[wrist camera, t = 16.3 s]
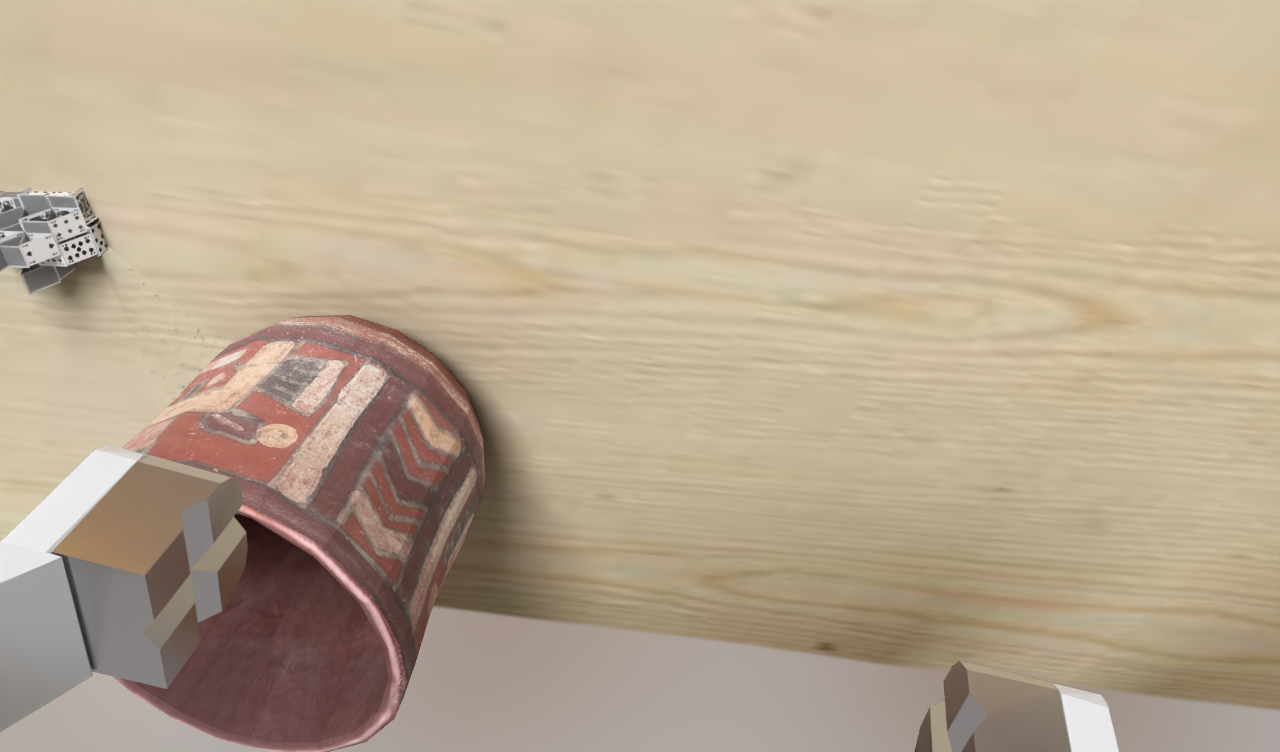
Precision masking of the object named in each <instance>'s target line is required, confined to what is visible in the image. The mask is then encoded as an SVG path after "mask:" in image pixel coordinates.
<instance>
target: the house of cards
mask: <svg viewBox="0 0 1280 752" xmlns="http://www.w3.org/2000/svg"><path fill="white" fill-rule="evenodd" d="M97 218H98V217H94V216H93V214H92V211H91V209H90V206H89V203H88V201H87V198H86V196H85V193H84V191H83V188H81V189H79V190H78V191H76V192H32V189H31V188H29V189H27V190H25V191H23V192H6V191H0V272H1V271H3V270H4V269H6V268H7V267H20V268H23V269H22V272H21V276H22V278H23V281H24V283H25V285H26V287H27V290H28V292H29V294H33V293H36V292H38V291H41V290H43V289H46V288H48V287H51V286H53V285H56V284H58V283H61V280H62V279H63V278H64V277H66V276H67V275H69V274H70V273H71V272H73V271H74V270H75V269H76V268H75V266H74V263H76V262H79V261H82V260H84V259H87V258H89V257H92V256H95V255H96V256H98V257H99V256H101V255H102V254H103V253H105V252H106V251H107V250H108V247H107V245H106V242H105V240H104V237H103V235H102V232H101V230H100V227H99V224H98V223H100V222H95V221H94V220H95V219H97Z"/></svg>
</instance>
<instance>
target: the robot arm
mask: <svg viewBox="0 0 1280 752" xmlns="http://www.w3.org/2000/svg"><path fill="white" fill-rule="evenodd" d="M242 505H243V498H242V491H241V485H240V482H239V481H237V480H235V479H233V478H230V477H227V476H223V475H220V474H216V473H212V472H209V471H205V470H202V469H198V468H195V467H191V466H187V465H184V464H180V463H177V462H173V461H170V460H166V459H162V458H159V457H155V456H152V455H146V454H142V453H139V452H135V451H131V450H128V449H124V448H120V447H117V446H113V445H107V446H104V447H102V448H99V449H97V450H95V451H93V452H92V453H91V454H90V455H89V456H88V457H87V458H86V459H85V460H84V461H83V462H82V463H81V464H80V465H79V466H78V467H77V468H76V469H75V470H74V471H73V472H72V473H71V474H69V475H68V476H67V477H66V478H65V479H64V480H63V481H62V482H61V483H60V484H59V485H58V486H57V487H56V488H55V489H54V490H53V491H52V492H51V493H50V494H49V495H48V496H47V497H46V498H45V499H44V500H43V501H42V502H41V503H40V504H39V505H38V506H37V507H36V508H35V509H34V510H33V511H32V512H31V513H30V514H29V515H27V516H26V517H25V518H24V519H23V520H22V521H21V522H20V523H19V524H18V525H17V526H16V527H15V528H14V529H13V530H12V531H11V532H10V533H9V534H8V535H7V536H6V537H5V538H4V539H3V540H2V541H1V540H0V732H1V731H3V730H5V729H6V728H8V727H10V726H11V725H13V724H15V723H16V722H18V721H19V720H21V719H23V718H24V717H26V716H28V715H29V714H31V713H33V712H34V711H36V710H37V709H39V708H41V707H42V706H44V705H46V704H47V703H49V702H51V701H52V700H54V699H56V698H57V697H59V696H61V695H62V694H64V693H65V692H67V691H69V690H70V689H72V688H74V687H75V686H77V685H78V684H80V683H82V682H83V681H85V680H87V679H88V678H90V677H92V675H93V674H92V671H93V672H98V673H101V674H106V675H110V676H114V677H118V678H122V679H126V680H131V681H135V682H139V683H143V684H148V685H152V686H156V687H160V688H165V689H168V687H169V686H170V684H171V683H172V681H173V680H174V679H175V677H176V676H177V674H178V673H179V672H180V670H181V669H182V667H183V666H184V665H185V663H186V662H187V660H188V659H189V657H190V656H191V655H192V653H193V652H194V650H195V649H196V648H197V646H198V645H199V643H200V642H201V641H200V634H199V626H198V623H199V622H201V621H203V620H205V619H207V618H209V617H211V616H213V615H215V614H217V613H219V612H221V611H222V610H223V609H224V607H225V606H226V604H227V603H228V601H229V600H230V598H231V597H232V595H233V594H234V592H235V591H236V588H237V586H238V583H239V581H240V578H241V576H242V573H243V571H244V568H245V564H246V557H247V550H248V545H247V533H246V531H245V530H244V529H243V527H242V526H241V525H240V524H239V522H238V521H237V520H236V519H235V517H234V516H235V514H236V513H237V512H238V510H239V509H240V508H241V506H242ZM944 692H945V693H944V694H945V700H944V701H942V702H940V703H938V704H935V705H933V706H931V707H930V708H929V710H928V712H927V714H926V716H925V719H924V721H923V723H922V725H921V727H920V731H919V736H918V739H917V744H916V748H915V752H1119V749H1118V744H1117V740H1116V736H1115V732H1114V728H1113V724H1112V720H1111V716H1110V711H1109V708H1108V704H1107V703H1106V701H1105V700H1104V699H1103V697H1102V696H1101V695H1099V694H1094V693H1090V692H1086V691H1082V690H1078V689H1074V688H1070V687H1066V686H1062V685H1058V684H1050V683H1049V682H1047V681H1043V680H1039V679H1035V678H1031V677H1026V676H1022V675H1018V674H1014V673H1010V672H1006V671H1001V670H997V669H993V668H989V667H985V666H981V665H977V664H972V663H968V662H964V661H958V662H957V663H956V664H955V665H953V666H952V667H951V669H950V671H949V673H948V675H947V677H946V678H945V680H944Z"/></svg>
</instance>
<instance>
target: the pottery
mask: <svg viewBox="0 0 1280 752" xmlns="http://www.w3.org/2000/svg"><path fill="white" fill-rule="evenodd" d="M122 448H124V449H128V450H131V451H135V452H139V453H142V454H146V455H152V456H155V457H159V458H162V459H166V460H170V461H173V462H177V463H180V464H184V465H187V466H191V467H195V468H198V469H202V470H205V471H209V472H212V473H216V474H220V475H223V476H227V477H230V478H233V479H235V480H237V481H239V482H240V485H241V491H242V498H243V505H242V506H241V508H240V509H239V510H238V512H237V513H236V514H235V516H234V517H235V519H236V520H237V521H238V522H239V524H240V525H241V526H242V527H243V529H244V530H245V531H246V533H247V545H248V550H247V557H246V564H245V568H244V571H243V573H242V576H241V578H240V581H239V583H238V586H237V588H236V591H235V592H234V594H233V595H232V597H231V598H230V600H229V601H228V603H227V604H226V606H225V607H224V609H223V610H222V611H221V612H219V613H217V614H215V615H213V616H211V617H209V618H207V619H205V620H203V621H201V622H199V623H198V626H199V634H200V641H201V642H200V643H199V645H198V646H197V648H196V649H195V650H194V652H193V653H192V655H191V656H190V657H189V659H188V660H187V662H186V663H185V665H184V666H183V667H182V669H181V670H180V672H179V673H178V674H177V676H176V677H175V679H174V680H173V681H172V683H171V684H170V686H169V687H168V689H165V688H160V687H156V686H152V685H148V684H143V683H139V682H135V681H131V680H126V679H122V678H118V677H114V676H113V677H114V678H115V679H116V680H118V681H119V682H120V683H121V684H122V685H124V686H125V687H126V688H127V689H128V690H130V691H131V692H132V693H133V694H135V695H136V696H138V697H139V698H141V699H143V700H145V701H146V702H148V703H149V704H151V705H152V706H154V707H156V708H157V709H159V710H161V711H162V712H164V713H166V714H167V715H169V716H170V717H172V718H174V719H175V720H177V721H179V722H181V723H184V724H186V725H188V726H190V727H193V728H195V729H197V730H199V731H202V732H204V733H206V734H208V735H211V736H213V737H215V738H218V739H220V740H222V741H227V742H231V743H235V744H240V745H244V746H249V747H253V748H258V749H262V750H266V751H271V752H329V751H333V750H337V749H341V748H345V747H348V746H353V745H356V744H360V743H364V742H366V741H368V740H369V739H370V738H371V737H373V736H374V735H375V734H376V733H377V732H379V731H380V730H381V729H382V728H384V727H385V726H386V725H387V724H388V723H390V722H391V721H392V720H393V719H394V718H395V716H396V714H397V711H398V709H399V706H400V704H401V701H402V699H403V697H404V694H405V691H406V688H407V686H408V683H409V680H410V677H411V674H412V671H413V668H414V666H415V662H416V659H417V656H418V653H419V649H420V646H421V643H422V639H423V636H424V632H425V629H426V626H427V622H428V619H429V616H430V613H431V610H432V608H433V605H434V602H435V600H436V597H437V595H438V593H439V591H440V589H441V587H442V585H443V583H444V581H445V579H446V577H447V575H448V573H449V571H450V569H451V567H452V565H453V563H454V561H455V559H456V557H457V555H458V553H459V551H460V549H461V547H462V545H463V543H464V541H465V539H466V536H467V534H468V531H469V529H470V526H471V524H472V521H473V519H474V516H475V513H476V511H477V508H478V506H479V503H480V500H481V498H482V495H483V492H484V484H485V466H484V448H483V438H482V434H481V430H480V426H479V422H478V420H477V417H476V415H475V412H474V410H473V408H472V405H471V403H470V401H469V398H468V396H467V394H466V391H465V390H464V389H463V388H462V387H461V385H460V384H459V383H458V382H457V381H456V380H455V378H454V377H453V376H452V375H451V374H450V372H449V371H448V370H447V369H446V368H445V366H444V365H443V364H442V363H441V362H440V360H439V359H438V358H437V357H436V356H435V355H434V354H432V353H431V352H429V351H428V350H426V349H425V348H423V347H422V346H420V345H419V344H417V343H416V342H414V341H413V340H411V339H410V338H408V337H407V336H405V335H404V334H402V333H401V332H399V331H397V330H394V329H391V328H388V327H385V326H382V325H379V324H376V323H373V322H370V321H367V320H364V319H361V318H358V317H355V316H352V315H342V316H306V317H294V318H288V319H285V320H283V321H281V322H278V323H276V324H274V325H271V326H269V327H267V328H264V329H262V330H260V331H258V332H255V333H253V334H251V335H248V336H246V337H244V338H242V339H240V340H237V341H235V342H233V343H231V344H230V345H229V346H228V347H227V348H226V349H224V350H223V351H222V352H221V353H220V354H219V355H218V356H216V357H215V358H214V359H213V360H212V361H211V362H210V363H209V365H208V366H207V367H206V368H205V369H204V370H203V371H202V372H201V373H200V374H199V375H198V376H197V377H196V378H195V379H194V380H193V381H192V382H191V383H190V384H189V385H188V387H187V388H186V389H185V390H184V391H183V392H182V393H181V394H180V395H179V396H178V397H177V398H176V399H175V400H174V401H173V402H172V403H171V404H170V405H169V406H168V407H167V408H166V409H165V410H164V411H162V412H161V413H160V414H159V415H158V416H157V417H156V418H155V419H154V420H153V421H152V422H151V423H150V424H148V425H147V426H146V427H145V428H144V429H143V430H142V431H141V432H140V433H139V434H138V435H137V436H135V437H134V438H133V439H132V440H131V441H130V442H128V443H127V444H126V445H125V446H123V447H122Z"/></svg>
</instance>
